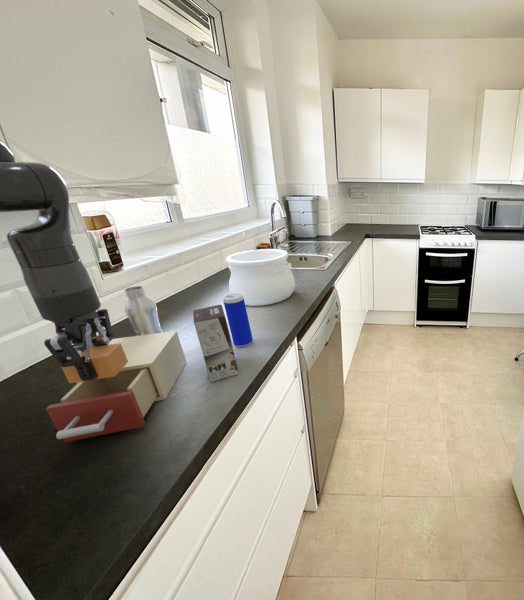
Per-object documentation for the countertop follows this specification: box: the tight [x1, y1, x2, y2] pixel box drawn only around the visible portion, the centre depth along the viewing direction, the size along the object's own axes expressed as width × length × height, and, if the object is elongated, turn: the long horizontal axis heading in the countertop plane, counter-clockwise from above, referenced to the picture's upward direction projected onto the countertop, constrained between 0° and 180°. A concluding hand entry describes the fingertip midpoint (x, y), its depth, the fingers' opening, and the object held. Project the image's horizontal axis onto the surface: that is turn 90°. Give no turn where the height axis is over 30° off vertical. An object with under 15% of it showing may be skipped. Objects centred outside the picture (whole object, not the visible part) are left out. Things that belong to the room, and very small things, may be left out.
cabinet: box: [75, 330, 187, 402], centre depth 73 cm, size 16×14×10 cm
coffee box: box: [192, 304, 239, 383], centre depth 77 cm, size 9×6×16 cm
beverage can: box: [223, 293, 254, 348], centre depth 90 cm, size 5×5×15 cm
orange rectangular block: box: [60, 343, 128, 384], centre depth 59 cm, size 7×5×4 cm
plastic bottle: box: [124, 285, 164, 336], centre depth 83 cm, size 6×7×20 cm
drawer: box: [45, 367, 159, 443], centre depth 62 cm, size 19×12×8 cm, turn 17°
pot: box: [225, 248, 296, 307], centre depth 125 cm, size 26×24×18 cm
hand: (99, 370), depth 60 cm, fingers closed on orange rectangular block, 5 cm apart
